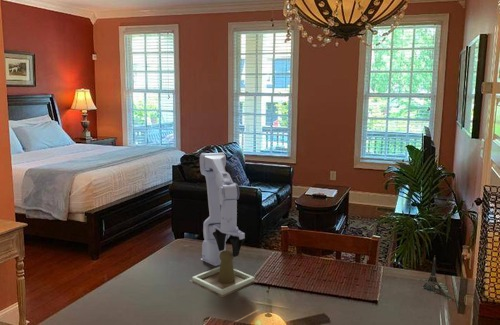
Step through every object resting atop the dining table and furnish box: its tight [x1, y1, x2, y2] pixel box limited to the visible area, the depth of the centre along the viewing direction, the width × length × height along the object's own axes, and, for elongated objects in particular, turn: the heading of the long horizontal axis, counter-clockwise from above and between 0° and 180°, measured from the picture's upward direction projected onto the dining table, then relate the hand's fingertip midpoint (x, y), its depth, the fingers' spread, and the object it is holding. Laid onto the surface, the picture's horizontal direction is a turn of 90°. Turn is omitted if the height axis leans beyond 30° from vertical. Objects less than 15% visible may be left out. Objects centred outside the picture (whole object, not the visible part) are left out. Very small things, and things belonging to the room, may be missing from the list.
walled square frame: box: [191, 266, 256, 295], centre depth 169 cm, size 16×16×2 cm
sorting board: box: [188, 272, 259, 298], centre depth 169 cm, size 18×18×1 cm
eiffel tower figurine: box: [416, 256, 453, 301], centre depth 165 cm, size 15×10×13 cm
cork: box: [218, 249, 235, 284], centre depth 169 cm, size 6×6×11 cm
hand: (228, 253), depth 169 cm, fingers open, 7 cm apart
